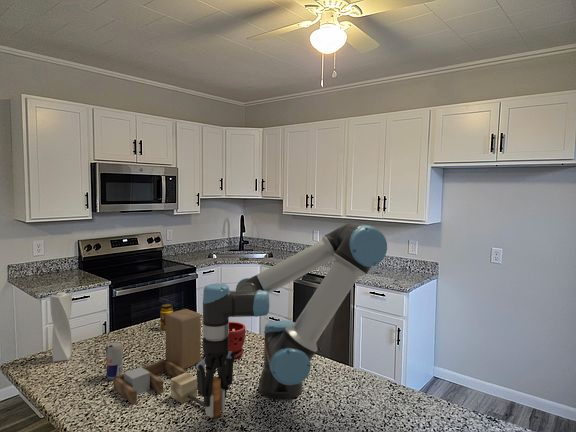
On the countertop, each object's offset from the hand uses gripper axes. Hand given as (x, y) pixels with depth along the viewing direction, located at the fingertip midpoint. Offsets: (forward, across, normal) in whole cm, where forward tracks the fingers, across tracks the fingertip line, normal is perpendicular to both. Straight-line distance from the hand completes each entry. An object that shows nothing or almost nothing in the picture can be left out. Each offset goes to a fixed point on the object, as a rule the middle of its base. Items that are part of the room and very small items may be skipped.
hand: (215, 412), depth 116 cm
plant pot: (+1, -30, -31) cm, 43 cm away
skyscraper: (+1, +19, -74) cm, 76 cm away
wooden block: (+1, -12, -37) cm, 39 cm away
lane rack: (+1, +5, -30) cm, 30 cm away
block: (+1, +9, -31) cm, 32 cm away
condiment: (+1, -27, -75) cm, 80 cm away
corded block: (+1, 0, -9) cm, 9 cm away
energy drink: (+1, +11, -45) cm, 46 cm away
